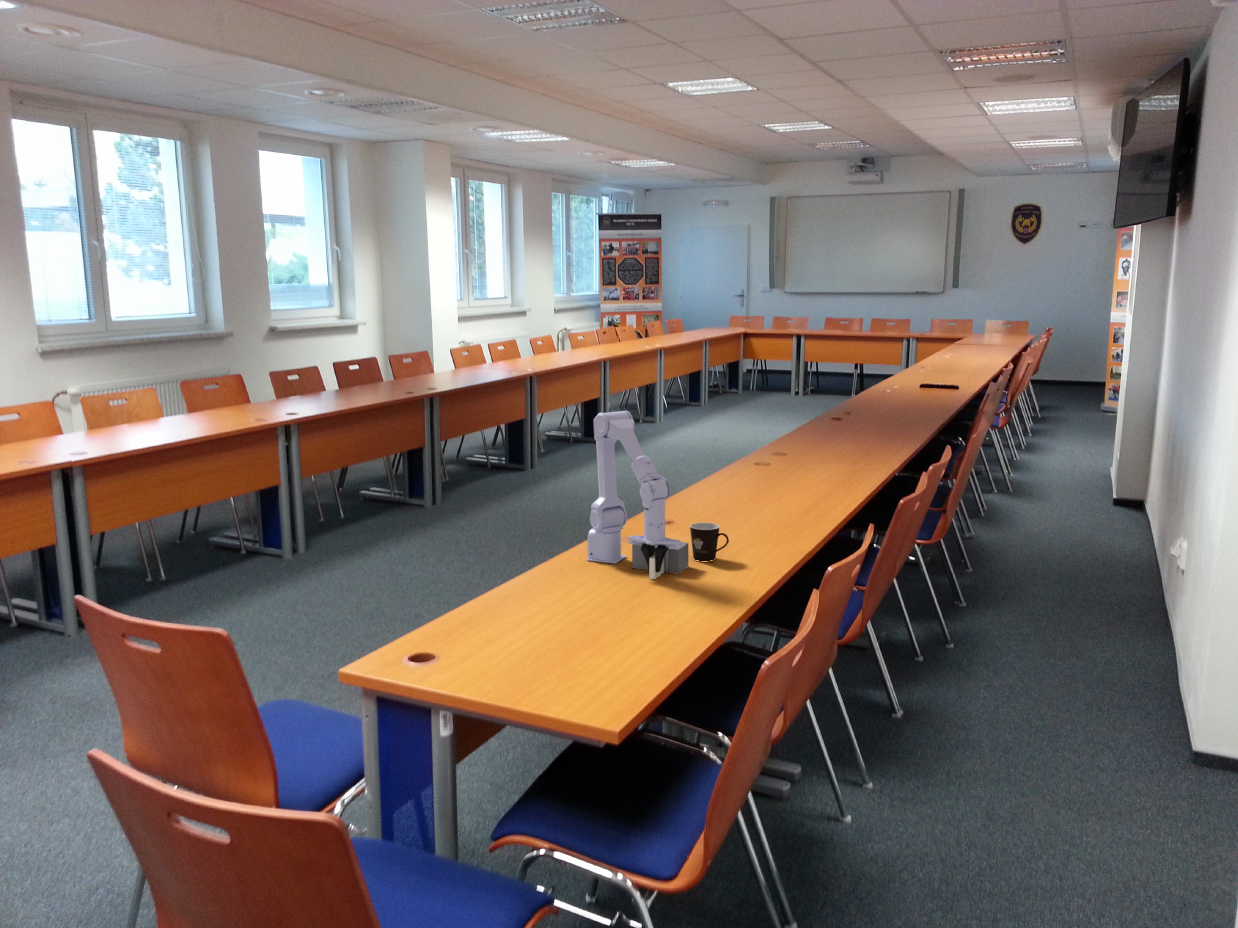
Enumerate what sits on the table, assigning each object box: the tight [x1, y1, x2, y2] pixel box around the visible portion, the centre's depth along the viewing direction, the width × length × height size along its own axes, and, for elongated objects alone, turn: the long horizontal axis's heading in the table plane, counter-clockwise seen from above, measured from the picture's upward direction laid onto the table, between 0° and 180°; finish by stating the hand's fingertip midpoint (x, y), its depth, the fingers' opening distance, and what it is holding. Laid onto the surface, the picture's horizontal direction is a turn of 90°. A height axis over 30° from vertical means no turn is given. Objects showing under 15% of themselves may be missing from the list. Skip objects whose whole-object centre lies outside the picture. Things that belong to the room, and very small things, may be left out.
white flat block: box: [648, 554, 665, 580], centre depth 257 cm, size 2×10×6 cm, turn 157°
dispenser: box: [631, 541, 690, 575], centre depth 263 cm, size 14×9×7 cm, turn 66°
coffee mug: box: [689, 522, 730, 561], centre depth 270 cm, size 12×9×10 cm
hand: (654, 571), depth 255 cm, fingers closed on white flat block, 1 cm apart
